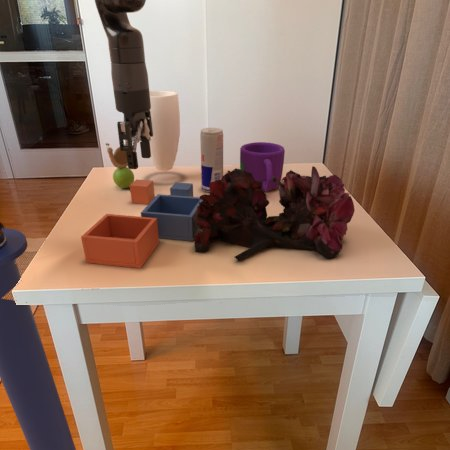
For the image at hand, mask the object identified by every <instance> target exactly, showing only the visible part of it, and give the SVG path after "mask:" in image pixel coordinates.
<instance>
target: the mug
mask: <svg viewBox="0 0 450 450" xmlns="http://www.w3.org/2000/svg"><path fill="white" fill-rule="evenodd" d="M285 153H286V150H285V147H284V146H282V145H281V144H278V143H273V142H265V141H263V142H262V141H256V142H248V143H245V144H243V145H241V147H240V149H239V169H241V170H245V171H246V172H248V173H252V175H253V178H254V179H255V181H261V182H262V187H261V190H262V191H264V193H269V192H270V191H272V190H275V189H276V188H279V186H278V185H277V183H276V182H273V181H272V177H276V178H278V179H279V180H280V182H282V178H283V177H282V176H283V171H284V163H285Z"/></svg>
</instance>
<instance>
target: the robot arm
mask: <svg viewBox="0 0 450 450" xmlns="http://www.w3.org/2000/svg"><path fill="white" fill-rule="evenodd" d="M146 2H147V0H94V3H95V7H96V9H97V14H98V16H99V19H100V22H101V25H102V29H103V30H104V32H105V35H106V38H107V43H108V53H109V59H110V66H111V67H110V69H111V71H110V72H111V73H110V75H111V82H112V88H113V89H112V90H113V96H114V104H115V110H116V111H117V112H119V113H121V114H122V115H123V121H117V123H116V125H117V135H118V141H119V147H120V150H121V151H124V152H126V156H127V163H128V166H127V168H129V169H130V170H137V169H138V168H139V161H138V152H137V147H138V143H139V146H140V147H139V148H140V154H141V155H140V156H141V158H143V159H151V150H150V142H149V141H151V137H153V129H152V121H151V112H150V109H151V103H150V92H149V91H150V84H149V82H150V81H149V75H148V69H147V63H146V54H145V45H144V36H143V33H142V31H140V30H139V29H138V28H136V27H134V26H133V25H131V22H130V19H129V17H128V14H131V13H138V12H139V11H141V10H142V9H143V8H144V6H145V4H146ZM2 228H3V229H4V228H5V225H4V224H3V223H2V222H1V221H0V249H1V248H2V247H4V246H5V244H6V242H7V240H6V237H5V235H4V233H3V230H2ZM4 230H5V229H4Z"/></svg>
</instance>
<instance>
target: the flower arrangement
mask: <svg viewBox="0 0 450 450" xmlns="http://www.w3.org/2000/svg"><path fill="white" fill-rule="evenodd" d="M311 166H312V167H311V176H310V175H302V174H300V173H298V172H295V171H293V170H292V169H290V170H289V171H287V172H286V173H285V176H284V177H282V178H281V181H280V180H279V179H278V178H276V177H272V181H273V182H276V183H277V185H278V195H279V200H278V202H279V204H280V205H281V206H282V207H283V209H282V212H280V213H278V215H271V216H268V212H267V211H268V210H267V206H269V205H270V201H269V199H268V198H267V194H266V192H265V191H262V190H261V187H262V182H261V181H255V179H254V178H253V175H252V173H248V172H246V171H245V170H241V169H240V168H237V167H235V168H234V169H232V170H231V171H230V170H227V173H225V174H223V177H222V179H221V180H216V181H214V182H210V183H209V187H210V192H209V194H201V195H200V196H199V197H200V199H201V200H203V201H202V202H199V201H198V202H199V206H198V207H197V218H196V219H195V220H194V221H195V223H196V224H197V226H200V227H199V228H200V230H199V231H200V232H198V233H197V235H195V239H194V240H193V242H194V251H195V252H196V253H206V252H208V251H209V250H210V243H211V242H214V241H218V240H219V241H223V242H225V243H227V244H229V245H235V246H240V247H245V248H248V249H246V250H244V251H242V252H240V253H239V254H237V255H235V256H234V259H236V260H237V262H240V261H242V260H243V259H245V258H247V257H249V256H250V255H253V254H254V253H257V252H259V251H261V250H262V249H265V248H281V249H291V250H292V249H293V250H304V251H305V250H306V251H314V252H316V253H317V254H321V256H322V257H323V258H324V259H326V260H330V259H335V258H337V256H338V255H339V254H340V253H341V251H342V249H343V244H342V241H343V240H344V237H345V236H346V235H347V231H348V224H349V223H350V222H351V221H352V219H353V216H354V215H355V211H356V210H355V204H354V200H353V198H352V196H351V195H350V192H345V191H346V188H345V184H344V183H343V181H342V178H341V177H339V176H338V175H337V174H332V175H329V176H327V175H322V176H320V174H319V170H318V169H317V167H316V166H315V165H314V166H313V165H311ZM199 217H200V218H199Z"/></svg>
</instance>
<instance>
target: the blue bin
mask: <svg viewBox="0 0 450 450" xmlns="http://www.w3.org/2000/svg"><path fill="white" fill-rule="evenodd" d="M198 201H199V202H202V201H203V200H201V199H200V196H193V197H188V196H175V195H170V194H162V193H160V194H159V193H157V194H156V195H155V198H154V199H153V200H152V201H151V202H150V203H149V204H146V207H144V208H143V210H142V211H141V212H140V217H149V218H157V224H158V235H159V239H165V240H174V241H175V240H176V241H185V242H186V241H187V242H194V240H195V235H197V234H198V233H200V232H199V231H201V230H200V228H199V227H200V226H197V224H196V223H195V221H194V220H195V219H196V218H197V207H198V206H199V202H198ZM199 218H200V217H199Z"/></svg>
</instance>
